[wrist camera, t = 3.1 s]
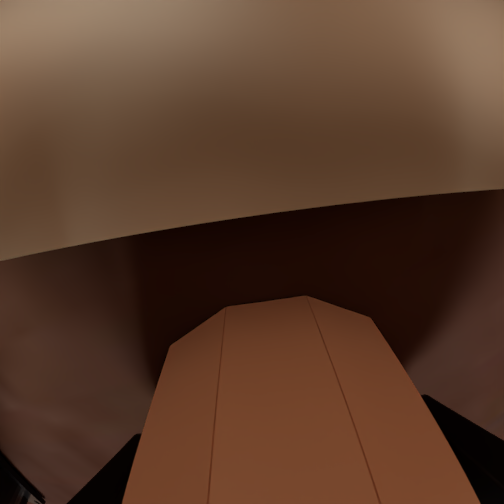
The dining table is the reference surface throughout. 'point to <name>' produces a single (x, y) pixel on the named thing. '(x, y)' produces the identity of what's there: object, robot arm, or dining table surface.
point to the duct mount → (238, 110)
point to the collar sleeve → (290, 416)
